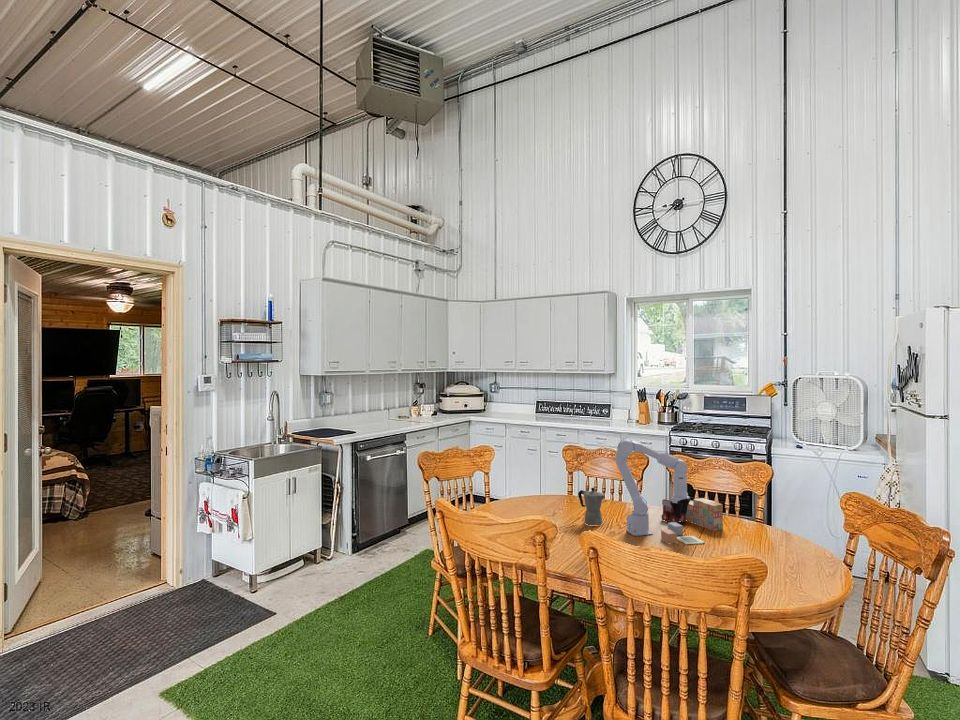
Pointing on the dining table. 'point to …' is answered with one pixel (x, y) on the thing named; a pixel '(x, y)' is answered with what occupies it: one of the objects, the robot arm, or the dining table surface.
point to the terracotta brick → (669, 536)
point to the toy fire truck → (670, 513)
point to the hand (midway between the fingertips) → (680, 515)
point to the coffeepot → (592, 506)
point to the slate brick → (676, 528)
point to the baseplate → (690, 540)
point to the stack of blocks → (705, 513)
